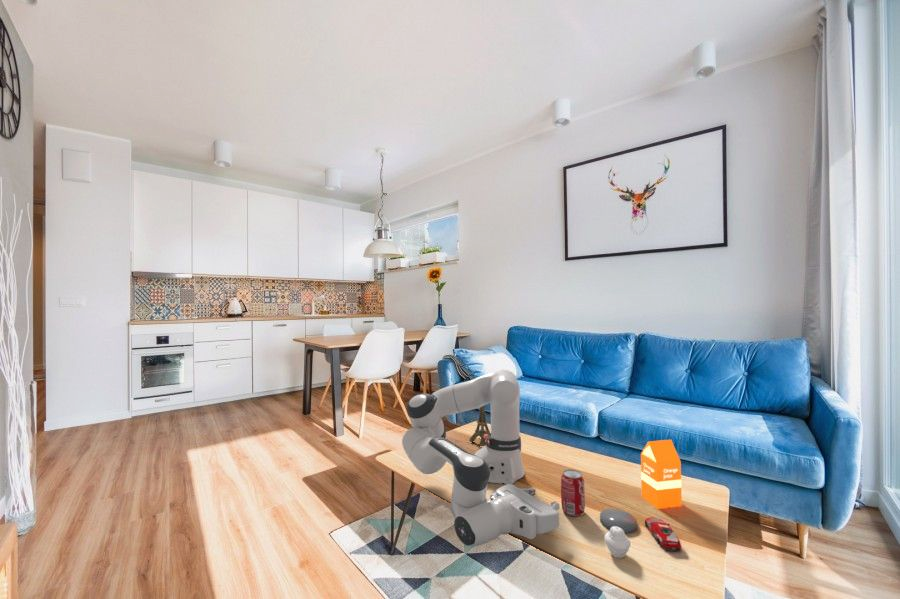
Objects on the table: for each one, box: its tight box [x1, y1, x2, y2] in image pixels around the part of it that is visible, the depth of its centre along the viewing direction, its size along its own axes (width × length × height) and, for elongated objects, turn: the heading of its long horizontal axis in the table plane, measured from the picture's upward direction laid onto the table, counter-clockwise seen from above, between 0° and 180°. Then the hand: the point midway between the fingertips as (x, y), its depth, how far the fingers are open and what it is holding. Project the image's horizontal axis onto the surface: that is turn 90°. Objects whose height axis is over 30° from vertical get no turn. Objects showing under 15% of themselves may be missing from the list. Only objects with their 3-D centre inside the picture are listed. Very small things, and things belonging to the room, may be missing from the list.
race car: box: [644, 516, 682, 552], centre depth 103 cm, size 13×5×4 cm, turn 173°
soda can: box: [560, 469, 586, 517], centre depth 116 cm, size 7×7×12 cm
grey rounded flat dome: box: [599, 508, 638, 535], centre depth 110 cm, size 10×10×2 cm
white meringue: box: [604, 526, 631, 558], centre depth 96 cm, size 6×6×7 cm
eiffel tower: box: [468, 405, 491, 446], centre depth 176 cm, size 11×11×25 cm
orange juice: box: [640, 439, 683, 510], centre depth 122 cm, size 8×9×20 cm
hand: (545, 497), depth 110 cm, fingers open, 8 cm apart
